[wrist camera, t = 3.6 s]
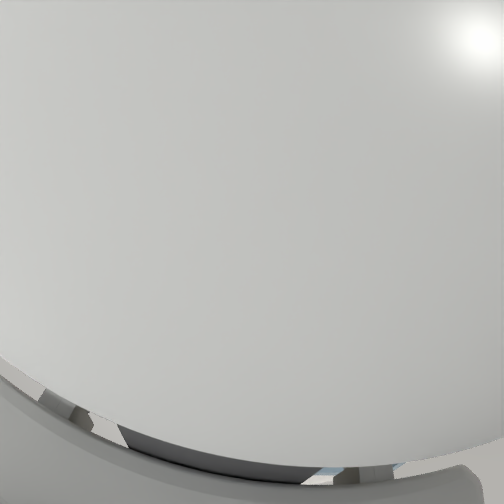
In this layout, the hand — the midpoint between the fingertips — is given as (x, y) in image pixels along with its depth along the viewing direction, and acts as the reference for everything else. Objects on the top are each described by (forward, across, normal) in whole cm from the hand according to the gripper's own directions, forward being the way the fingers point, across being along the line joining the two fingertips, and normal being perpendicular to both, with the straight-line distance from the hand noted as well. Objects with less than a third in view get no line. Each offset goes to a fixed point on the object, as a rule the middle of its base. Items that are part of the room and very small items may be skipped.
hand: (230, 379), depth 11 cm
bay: (+4, 0, -4) cm, 6 cm away
